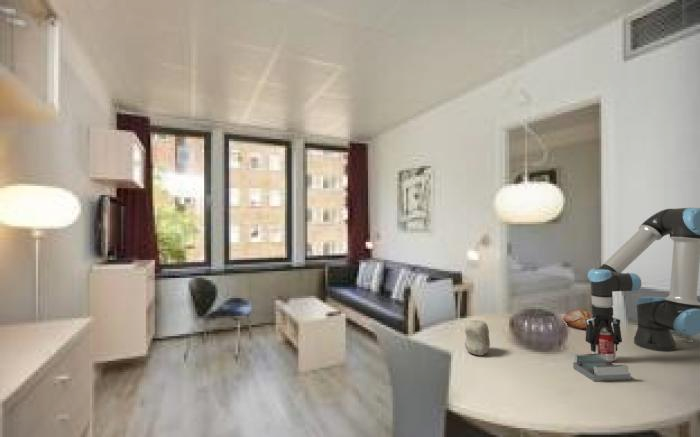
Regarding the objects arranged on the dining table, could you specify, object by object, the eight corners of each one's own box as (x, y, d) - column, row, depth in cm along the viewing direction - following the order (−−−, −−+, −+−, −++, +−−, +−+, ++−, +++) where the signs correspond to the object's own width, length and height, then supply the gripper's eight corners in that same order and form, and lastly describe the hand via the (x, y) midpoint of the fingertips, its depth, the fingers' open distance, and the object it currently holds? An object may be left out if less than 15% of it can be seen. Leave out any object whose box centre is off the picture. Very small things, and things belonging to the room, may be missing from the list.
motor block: (606, 366, 146) (605, 353, 146) (631, 380, 133) (630, 366, 133) (572, 367, 146) (572, 354, 146) (594, 382, 133) (594, 367, 133)
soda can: (617, 363, 149) (616, 334, 149) (599, 362, 150) (598, 334, 150) (609, 357, 155) (608, 330, 155) (592, 356, 157) (590, 329, 157)
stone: (480, 359, 159) (478, 325, 159) (460, 352, 167) (458, 320, 168) (494, 352, 165) (493, 320, 165) (474, 346, 174) (473, 316, 174)
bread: (590, 335, 188) (589, 316, 187) (555, 325, 205) (553, 308, 205) (608, 328, 195) (607, 310, 194) (573, 319, 212) (571, 303, 212)
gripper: (618, 302, 157) (620, 354, 156) (573, 304, 157) (576, 356, 156) (631, 306, 149) (634, 361, 149) (585, 308, 149) (587, 363, 149)
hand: (604, 358), depth 153 cm, fingers open, 7 cm apart
